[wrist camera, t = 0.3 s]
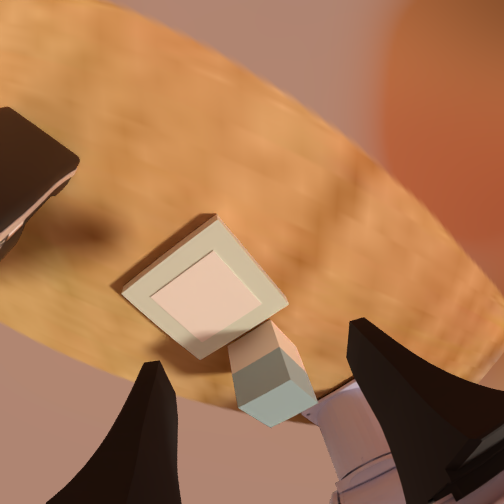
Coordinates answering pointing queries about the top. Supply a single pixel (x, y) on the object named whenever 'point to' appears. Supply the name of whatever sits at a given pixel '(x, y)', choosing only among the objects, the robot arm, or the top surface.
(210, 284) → the plate
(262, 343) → the brick stack
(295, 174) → the top surface
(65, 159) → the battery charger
